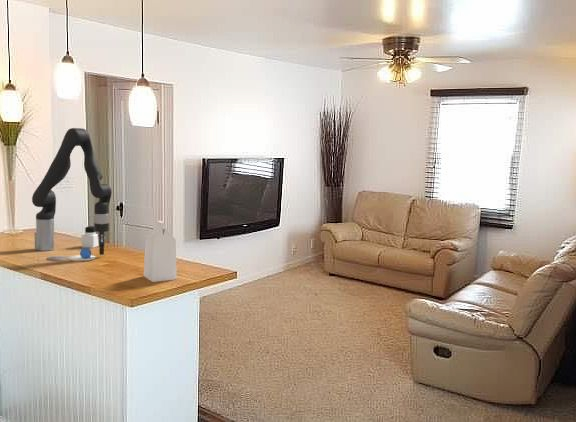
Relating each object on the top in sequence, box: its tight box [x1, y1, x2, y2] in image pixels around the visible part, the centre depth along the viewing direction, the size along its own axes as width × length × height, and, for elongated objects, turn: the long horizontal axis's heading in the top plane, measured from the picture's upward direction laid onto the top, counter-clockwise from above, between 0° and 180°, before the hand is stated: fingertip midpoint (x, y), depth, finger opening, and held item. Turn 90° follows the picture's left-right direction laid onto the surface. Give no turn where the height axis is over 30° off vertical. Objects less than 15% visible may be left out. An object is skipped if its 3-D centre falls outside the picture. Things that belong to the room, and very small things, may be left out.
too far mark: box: [46, 255, 68, 262], centre depth 287 cm, size 10×10×1 cm
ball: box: [79, 248, 92, 259], centre depth 289 cm, size 6×6×6 cm
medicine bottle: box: [81, 225, 99, 249], centre depth 321 cm, size 7×7×12 cm
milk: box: [143, 220, 178, 283], centre depth 253 cm, size 12×12×26 cm
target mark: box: [66, 254, 97, 262], centre depth 291 cm, size 14×14×1 cm
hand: (101, 254), depth 294 cm, fingers closed
